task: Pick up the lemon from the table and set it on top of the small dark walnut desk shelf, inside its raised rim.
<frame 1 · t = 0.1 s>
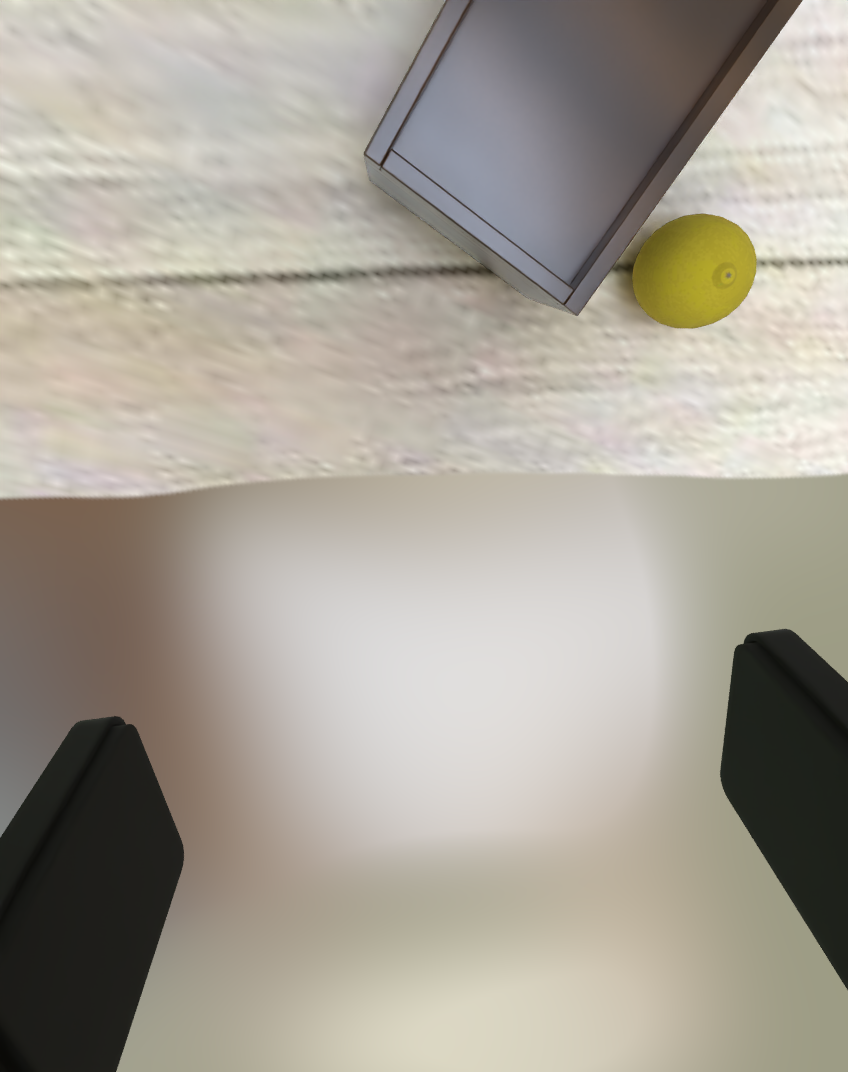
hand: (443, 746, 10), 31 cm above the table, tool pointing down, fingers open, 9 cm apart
lemon: (658, 270, 37), on the table
shelf: (532, 110, 33), on the table
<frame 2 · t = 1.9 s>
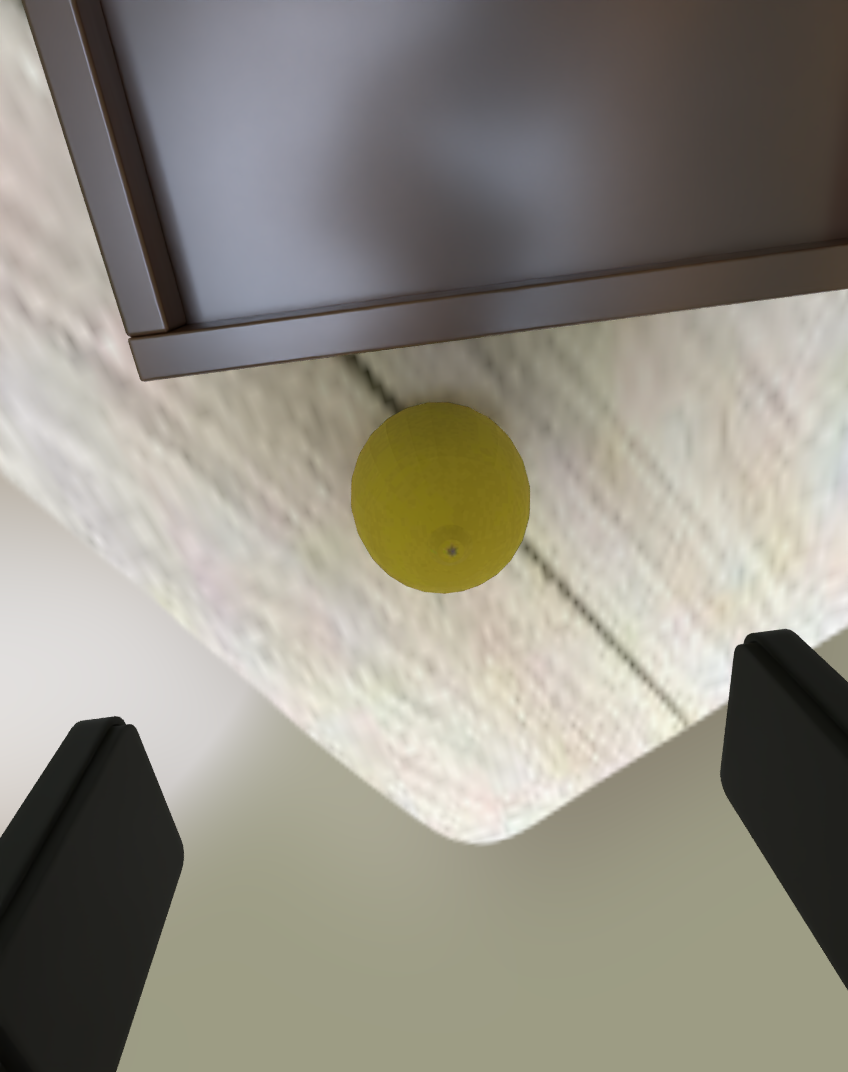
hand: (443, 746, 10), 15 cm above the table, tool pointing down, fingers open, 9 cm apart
lemon: (430, 452, 23), on the table
shelf: (456, 91, 18), on the table
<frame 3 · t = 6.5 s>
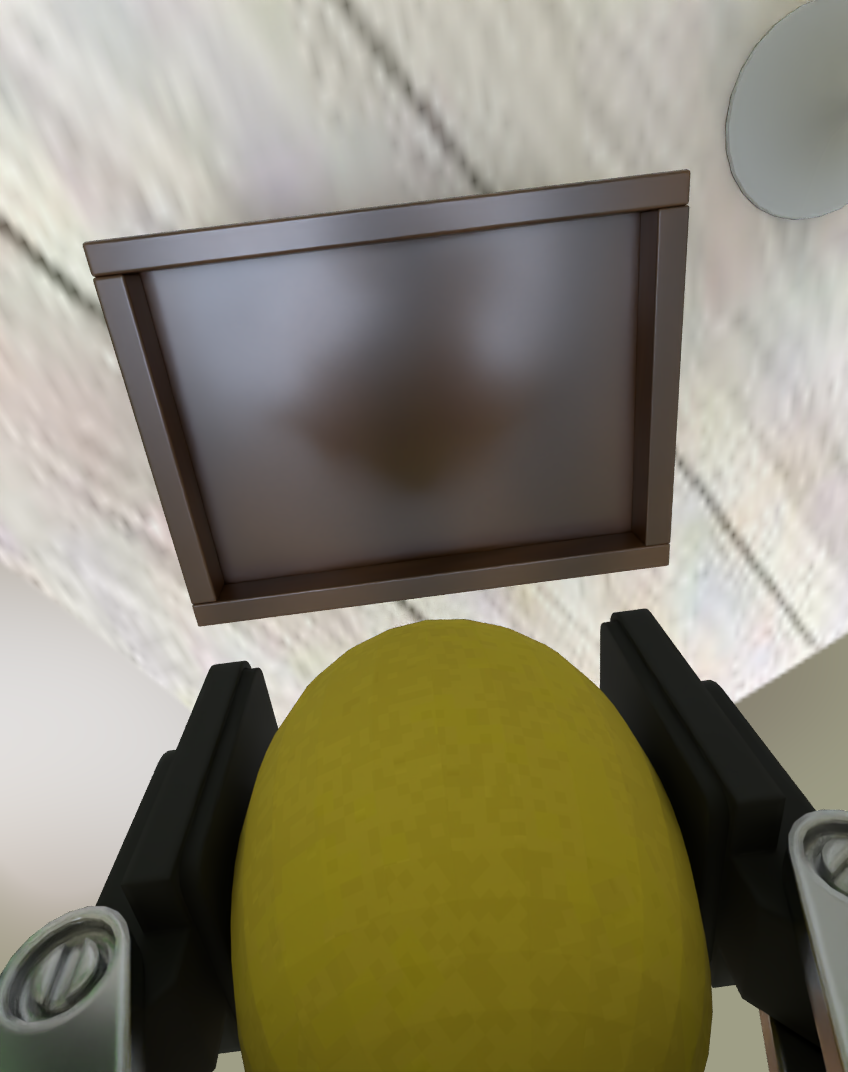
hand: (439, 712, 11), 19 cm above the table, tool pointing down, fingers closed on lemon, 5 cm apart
wineglass: (814, 115, 24), on the table
lemon: (433, 660, 12), point 17 cm above the table, touching gripper
shelf: (402, 368, 27), on the table
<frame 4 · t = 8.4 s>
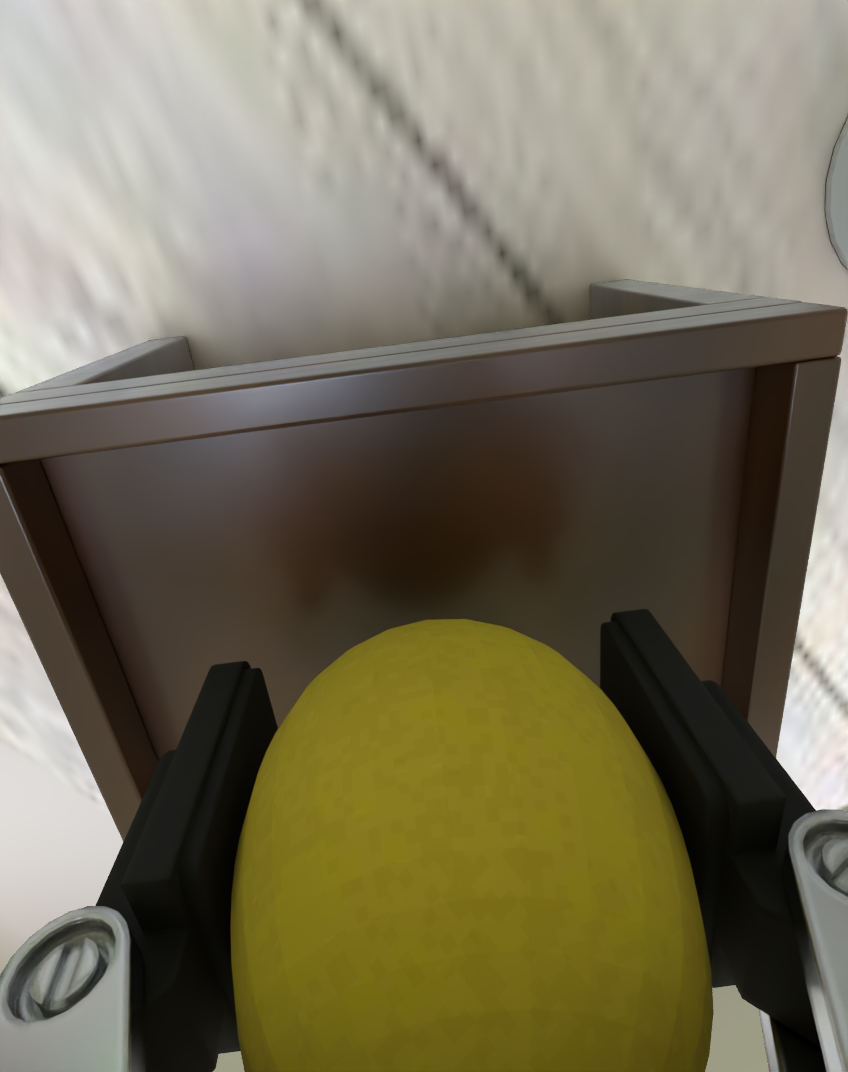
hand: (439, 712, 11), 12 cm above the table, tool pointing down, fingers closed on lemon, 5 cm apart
lemon: (433, 660, 12), point 11 cm above the table, touching gripper
shelf: (410, 476, 22), on the table
when the fingers open (10 cm above the table, at t = 9.4 s): lemon stays where it is, resting on shelf.
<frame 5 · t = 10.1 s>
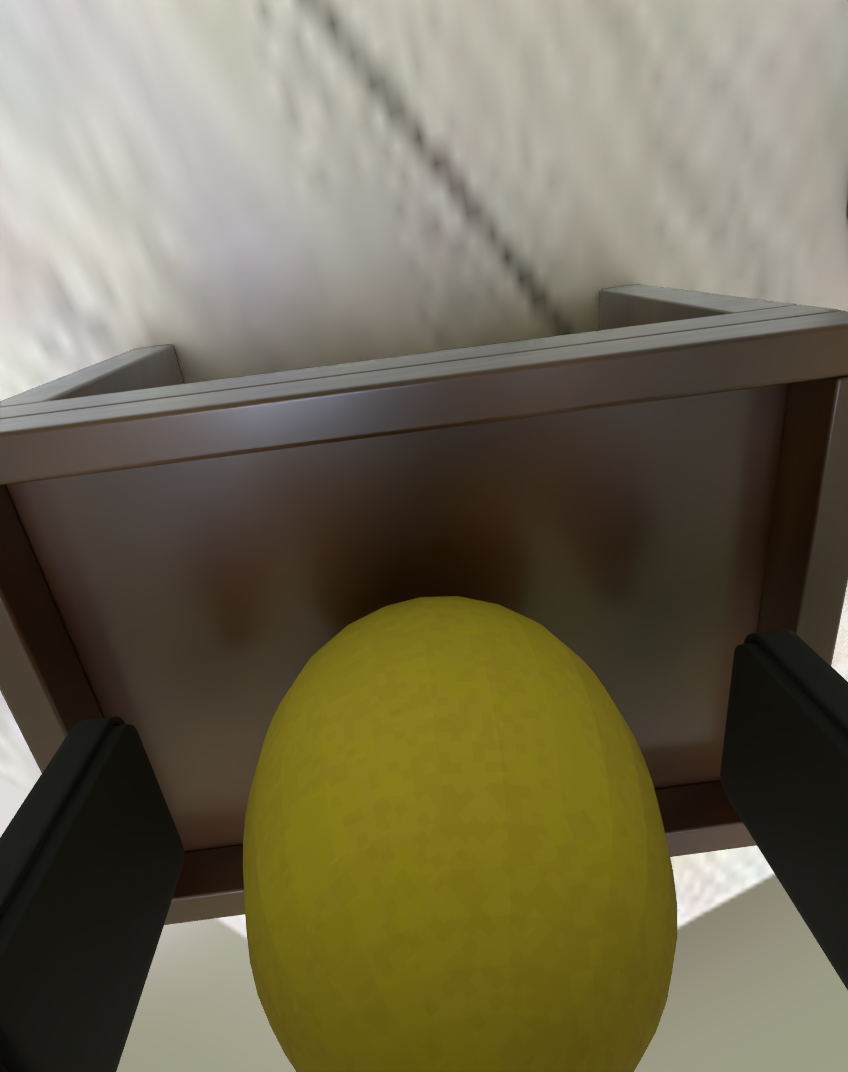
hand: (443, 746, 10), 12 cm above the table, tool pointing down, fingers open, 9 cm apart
lemon: (428, 641, 13), point 9 cm above the table, touching shelf
shelf: (410, 490, 21), on the table
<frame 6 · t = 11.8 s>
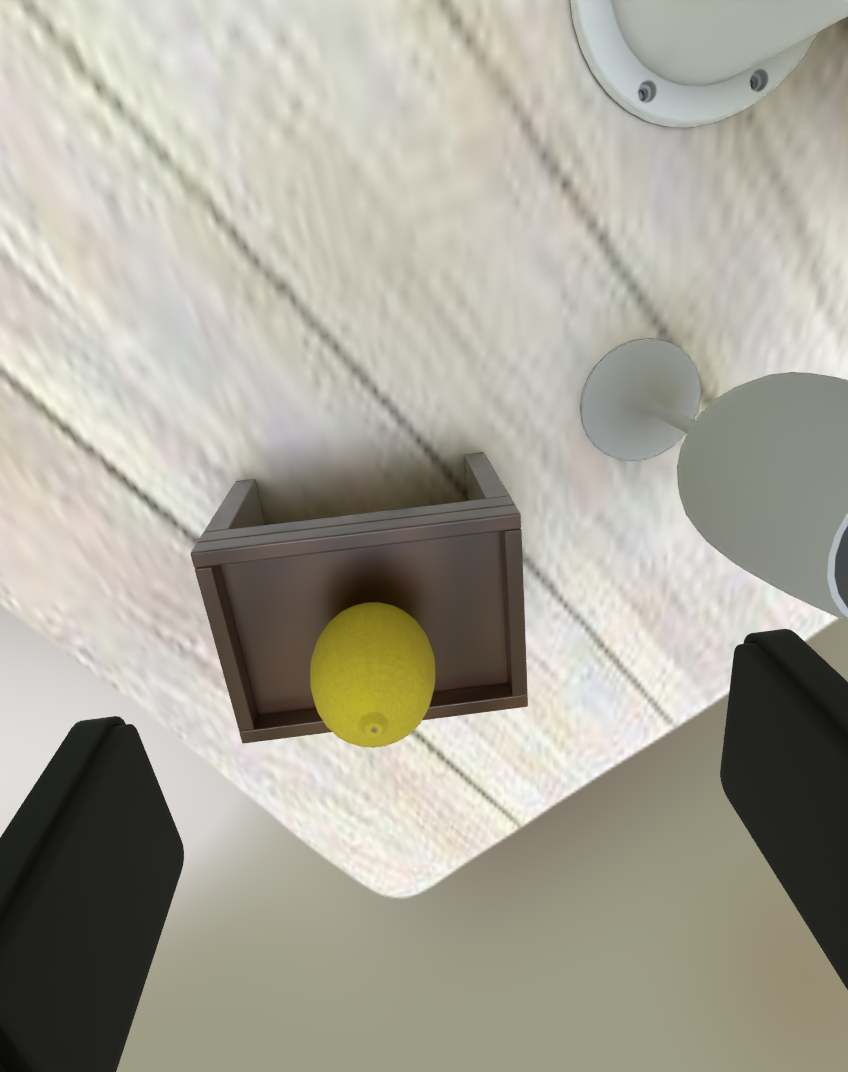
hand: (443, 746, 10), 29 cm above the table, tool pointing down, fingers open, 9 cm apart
wineglass: (638, 400, 37), on the table
lemon: (372, 620, 32), point 9 cm above the table, touching shelf
shelf: (372, 549, 40), on the table
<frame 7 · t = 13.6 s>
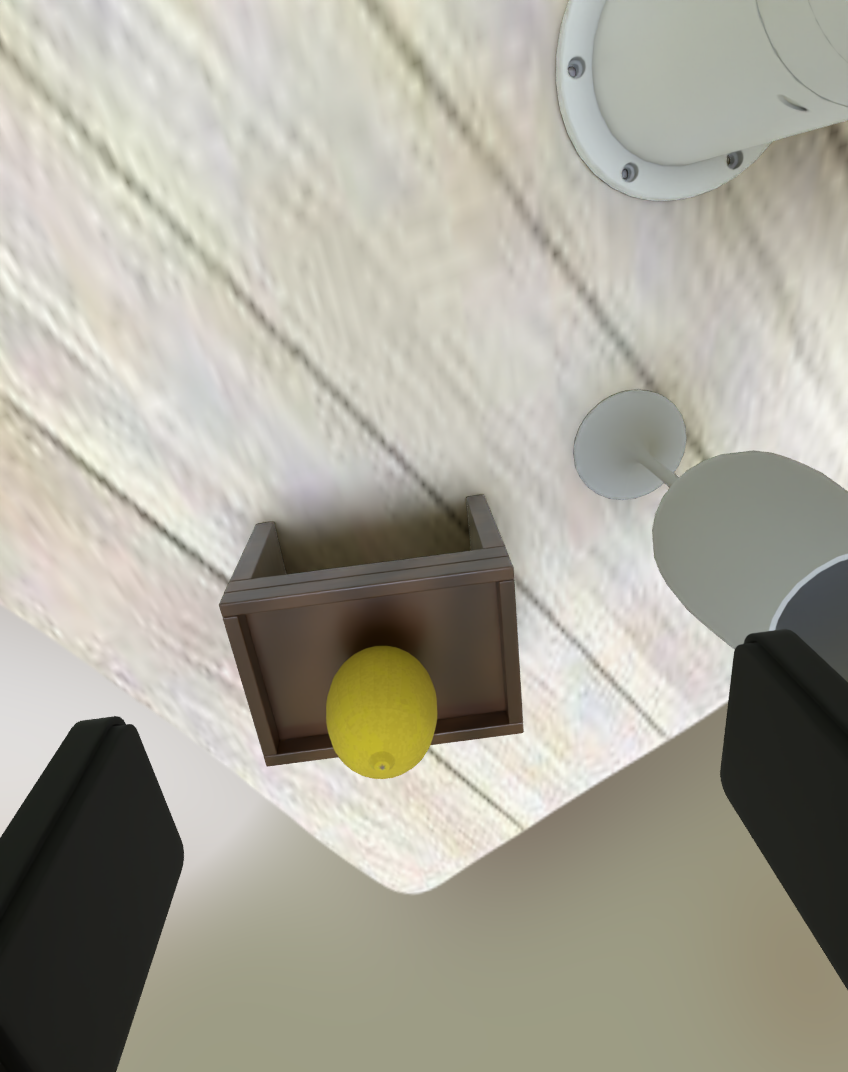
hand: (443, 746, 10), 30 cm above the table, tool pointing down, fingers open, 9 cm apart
wineglass: (627, 445, 40), on the table
lemon: (382, 657, 35), point 9 cm above the table, touching shelf
shelf: (382, 582, 43), on the table
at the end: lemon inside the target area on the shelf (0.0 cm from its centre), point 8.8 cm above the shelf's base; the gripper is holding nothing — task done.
